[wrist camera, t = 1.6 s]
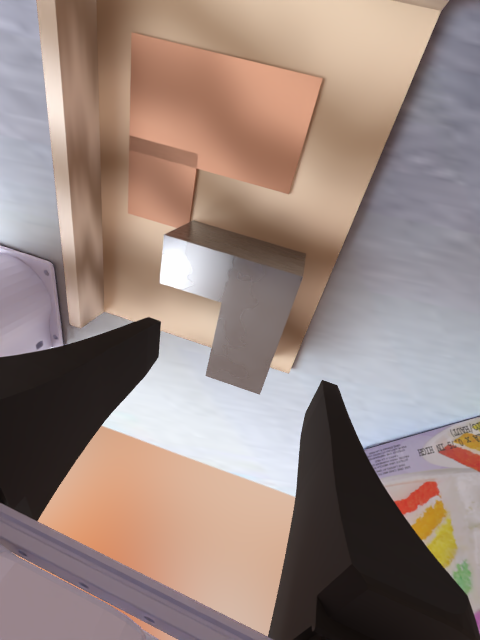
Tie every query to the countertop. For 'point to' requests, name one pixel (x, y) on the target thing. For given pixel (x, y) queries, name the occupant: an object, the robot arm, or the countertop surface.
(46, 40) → the board
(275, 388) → the countertop surface
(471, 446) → the cake pan box
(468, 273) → the countertop surface
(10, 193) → the countertop surface
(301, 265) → the bracket
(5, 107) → the countertop surface
